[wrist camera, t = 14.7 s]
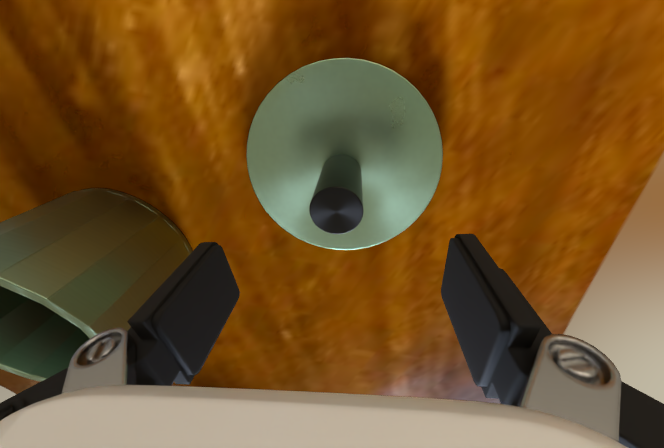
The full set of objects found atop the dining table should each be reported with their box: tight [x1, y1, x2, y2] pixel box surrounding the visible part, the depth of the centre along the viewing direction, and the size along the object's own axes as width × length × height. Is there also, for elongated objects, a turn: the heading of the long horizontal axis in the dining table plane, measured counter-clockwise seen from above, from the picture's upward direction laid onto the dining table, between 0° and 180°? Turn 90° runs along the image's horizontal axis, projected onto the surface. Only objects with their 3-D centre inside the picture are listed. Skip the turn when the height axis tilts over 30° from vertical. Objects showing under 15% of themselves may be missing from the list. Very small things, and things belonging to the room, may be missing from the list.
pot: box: [0, 188, 192, 381], centre depth 22 cm, size 14×14×10 cm
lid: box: [247, 58, 443, 250], centre depth 17 cm, size 15×15×7 cm
